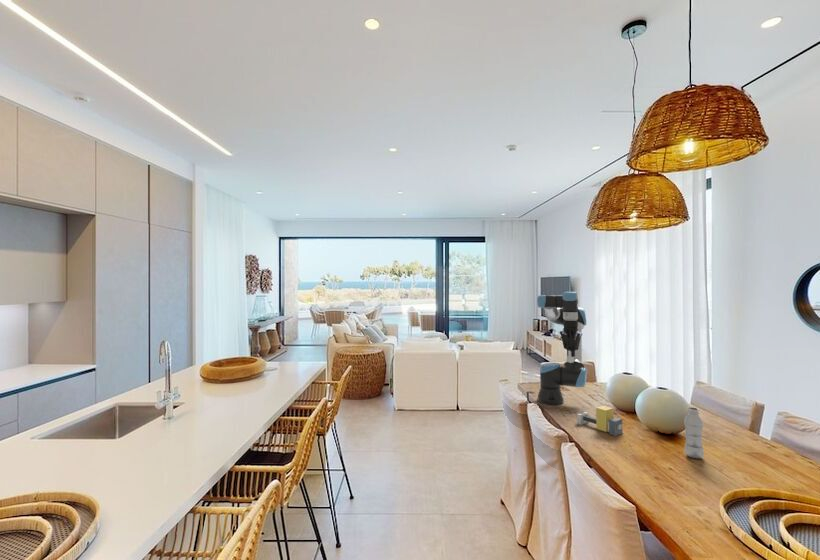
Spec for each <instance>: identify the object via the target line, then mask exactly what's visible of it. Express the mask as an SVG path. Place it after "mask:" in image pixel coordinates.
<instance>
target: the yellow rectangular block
mask: <svg viewBox="0 0 820 560" xmlns="http://www.w3.org/2000/svg"><path fill="white" fill-rule="evenodd" d="M595 409H596V410H595V412H596V414H595V416H596V417H595V419H596V421H597V424H596V430H599V431H601V432H604V433H609V432H608V422H609V419H612V418H614V408H612V407H609V406H606V405H602V406H598V407H596V408H595Z"/></svg>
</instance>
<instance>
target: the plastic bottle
mask: <svg viewBox="0 0 820 560" xmlns="http://www.w3.org/2000/svg"><path fill="white" fill-rule="evenodd" d="M687 413H688V414H686V415H685V417H684V419H683V422H684V427H685V444H684V453H685V454H686V456H688V457H690V458H691V459H692V458H693V459H702V458H703V457H704V453H705V451H704V447H703V441H702V439H703V438H702V437H703V436H702V435H703V434H702V433H703V428H704V423H703V422H704V421H703V420H702V418H701V417H700V416H699V414H700V413H699V408H696V407H687Z"/></svg>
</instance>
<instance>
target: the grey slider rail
mask: <svg viewBox="0 0 820 560" xmlns="http://www.w3.org/2000/svg"><path fill="white" fill-rule="evenodd" d="M588 423H592V424H595V425H597V421H596V417H591V416H590V413H589V412H587V411H582V413H576V424H577V425H581V426H582V425H585V424H588ZM607 433H608V435H610V436H614V437H617V436H619V435H622V434H623V419H622V418H620V417H613V418H612V419H609V422H608V432H607Z"/></svg>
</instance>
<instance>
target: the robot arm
mask: <svg viewBox="0 0 820 560" xmlns="http://www.w3.org/2000/svg"><path fill="white" fill-rule="evenodd" d="M578 304H579V299H578V292H576V291H564V292H563V293H562V294H541V295H539V294H538V296H537V302H536V305H537V307H538V308H542V309H543V310H544V316H545V318H546V320H548V321H550V322H551V323H554V324H556V325H561V326H562V325H563V326H562V327H563V329H562V330H561V331H559V334H560V337H561V341H562V345H563V346H562V347H563V349H565V350H566V361H565V362H564V364H563V365H561V364H560V363H559V362H547V363H543V364H541V365H540V367H539V368H540V369H539V370H540V371H539V377H540V379H539V381H540V382H539V383H540V384H539V385H540V387H539V392H538V395H537V401H538V402H540V403H541V402H542V403H541V404H544V403H545V405H553V406H554V405H555V406H557V405H562V404H564V400H565V399H564V397H563V393H562V391H561V387H562V386H563V387H575V388H584V387H585V386H586V382H587V377H588V376H587V375H588V368H587V367H585V363H583V360H582V355H583V354H582V353H583V349H582V346H583V345H582V344H583V343H582V342H583V341H582V336H583V333H582V330H583V329H584V328H585V326H587V317H586V311H585V309H584V307H583V308H582V307H578Z"/></svg>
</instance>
